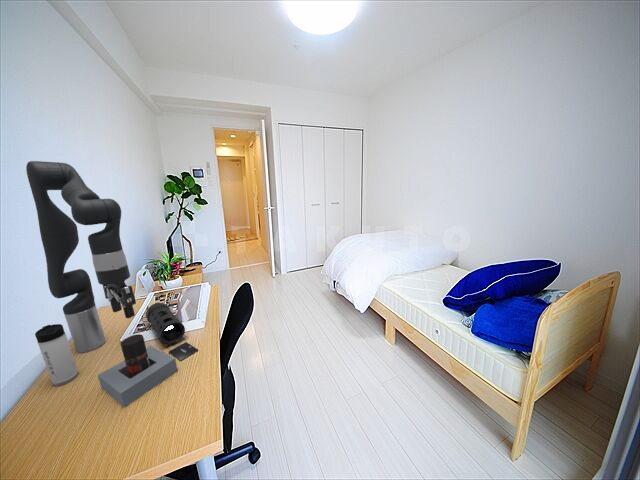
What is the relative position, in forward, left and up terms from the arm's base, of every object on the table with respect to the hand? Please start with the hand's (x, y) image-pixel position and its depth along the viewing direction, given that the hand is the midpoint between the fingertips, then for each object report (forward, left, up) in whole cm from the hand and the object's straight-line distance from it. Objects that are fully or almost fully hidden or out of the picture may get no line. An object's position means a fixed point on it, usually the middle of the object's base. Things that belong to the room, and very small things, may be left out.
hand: (123, 314), depth 76 cm
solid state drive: (0, +15, -25) cm, 29 cm away
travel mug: (-25, -12, -25) cm, 37 cm away
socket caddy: (0, 0, -25) cm, 25 cm away
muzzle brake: (-21, +20, -25) cm, 38 cm away
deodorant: (0, 0, -25) cm, 25 cm away
